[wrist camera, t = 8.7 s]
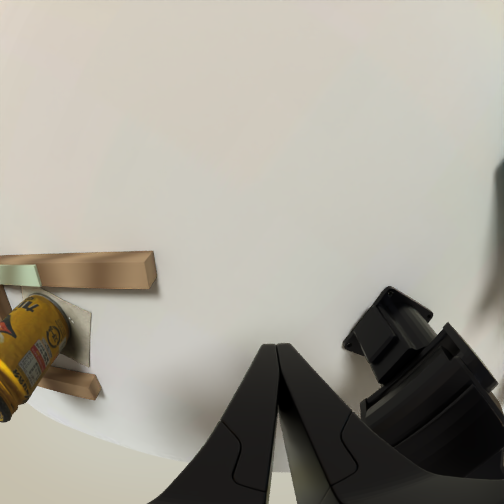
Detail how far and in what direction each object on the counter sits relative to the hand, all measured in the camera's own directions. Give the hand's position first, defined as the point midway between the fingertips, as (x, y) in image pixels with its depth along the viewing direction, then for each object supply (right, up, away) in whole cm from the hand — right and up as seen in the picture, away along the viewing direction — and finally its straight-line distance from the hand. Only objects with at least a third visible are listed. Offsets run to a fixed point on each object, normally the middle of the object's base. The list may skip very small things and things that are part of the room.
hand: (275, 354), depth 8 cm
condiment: (-20, -4, +15) cm, 25 cm away
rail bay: (-17, -4, +14) cm, 23 cm away
